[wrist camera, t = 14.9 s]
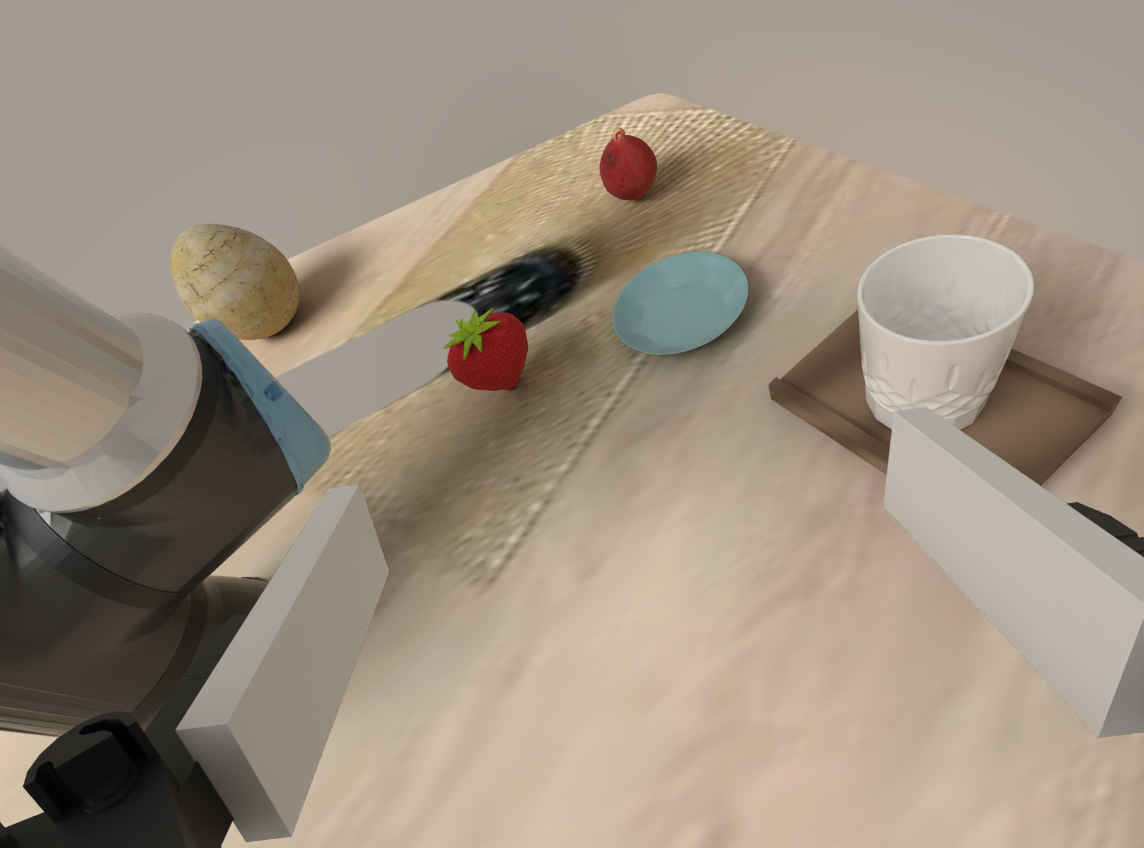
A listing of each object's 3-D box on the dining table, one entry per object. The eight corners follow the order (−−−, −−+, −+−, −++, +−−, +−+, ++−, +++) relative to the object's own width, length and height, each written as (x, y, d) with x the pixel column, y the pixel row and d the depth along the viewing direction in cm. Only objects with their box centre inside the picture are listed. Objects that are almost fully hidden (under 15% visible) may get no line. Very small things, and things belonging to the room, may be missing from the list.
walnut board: (771, 398, 44) (768, 384, 43) (873, 306, 45) (874, 289, 44) (985, 539, 34) (991, 526, 32) (1111, 414, 35) (1122, 396, 33)
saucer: (619, 382, 51) (611, 366, 49) (619, 288, 57) (612, 271, 56) (761, 353, 47) (757, 334, 45) (743, 256, 54) (739, 236, 52)
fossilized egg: (313, 340, 72) (212, 246, 61) (231, 374, 75) (120, 290, 64) (328, 275, 80) (241, 181, 69) (253, 308, 83) (158, 222, 71)
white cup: (935, 331, 41) (954, 213, 33) (1029, 407, 36) (1076, 289, 28) (831, 385, 41) (827, 282, 34) (909, 468, 36) (924, 369, 29)
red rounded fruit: (635, 223, 62) (611, 155, 56) (602, 207, 65) (576, 142, 59) (675, 189, 62) (656, 118, 56) (640, 175, 66) (619, 107, 60)
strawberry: (562, 375, 53) (514, 297, 46) (498, 429, 52) (438, 359, 45) (529, 346, 57) (480, 270, 49) (469, 396, 56) (410, 326, 49)
